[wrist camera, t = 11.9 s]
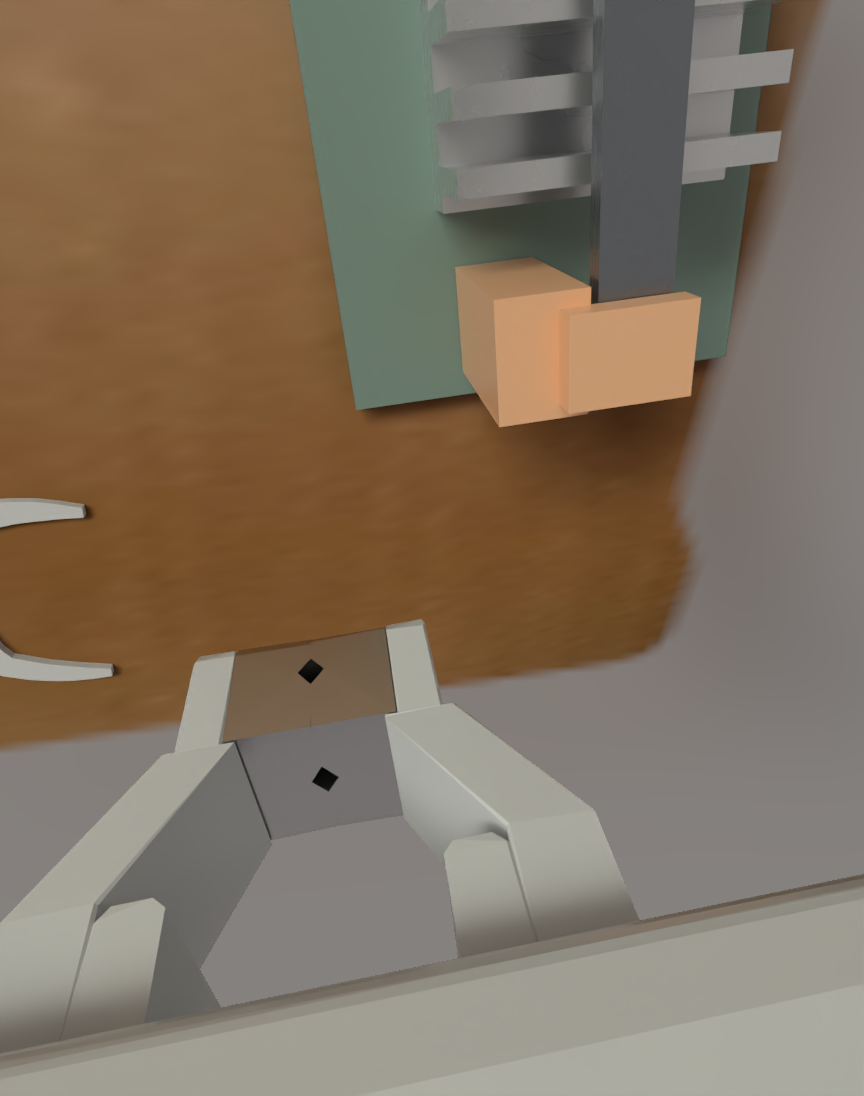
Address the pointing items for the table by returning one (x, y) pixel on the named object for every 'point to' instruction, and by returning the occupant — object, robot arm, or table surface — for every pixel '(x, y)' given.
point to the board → (463, 237)
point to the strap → (637, 144)
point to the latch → (568, 343)
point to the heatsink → (565, 98)
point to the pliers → (31, 667)
